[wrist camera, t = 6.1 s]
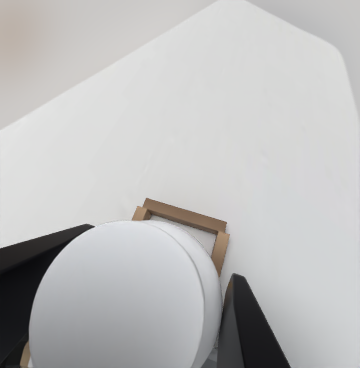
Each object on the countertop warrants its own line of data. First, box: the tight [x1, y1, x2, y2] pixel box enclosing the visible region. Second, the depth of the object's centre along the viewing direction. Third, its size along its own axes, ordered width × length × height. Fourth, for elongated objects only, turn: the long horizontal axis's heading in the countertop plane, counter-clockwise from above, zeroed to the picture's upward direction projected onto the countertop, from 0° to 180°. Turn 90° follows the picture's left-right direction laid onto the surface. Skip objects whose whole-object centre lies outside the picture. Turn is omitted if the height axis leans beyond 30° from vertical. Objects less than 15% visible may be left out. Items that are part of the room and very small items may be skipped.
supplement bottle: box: [29, 220, 222, 368], centre depth 9 cm, size 5×5×10 cm
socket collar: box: [132, 198, 230, 277], centre depth 19 cm, size 9×9×2 cm
